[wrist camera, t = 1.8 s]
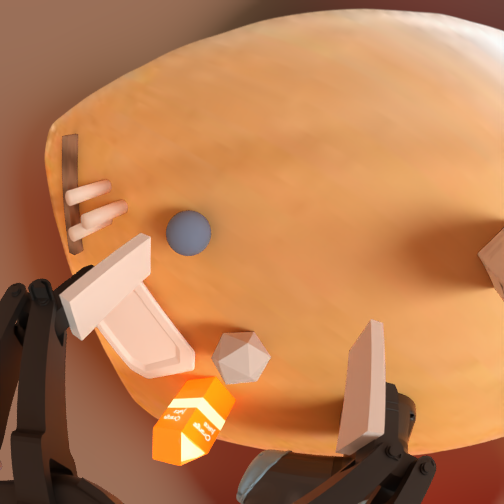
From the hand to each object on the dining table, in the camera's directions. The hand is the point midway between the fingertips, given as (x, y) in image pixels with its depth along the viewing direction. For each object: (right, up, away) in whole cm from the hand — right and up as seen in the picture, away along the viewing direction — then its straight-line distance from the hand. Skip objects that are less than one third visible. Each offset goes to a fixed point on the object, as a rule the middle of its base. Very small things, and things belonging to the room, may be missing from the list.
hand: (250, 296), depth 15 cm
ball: (-8, +5, +21) cm, 23 cm away
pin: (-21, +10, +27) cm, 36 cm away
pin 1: (-25, +14, +27) cm, 39 cm away
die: (-1, -13, +30) cm, 32 cm away
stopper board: (-35, +14, +31) cm, 48 cm away
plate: (-24, -13, +39) cm, 48 cm away
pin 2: (-26, +8, +30) cm, 40 cm away
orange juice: (-9, -27, +39) cm, 48 cm away
